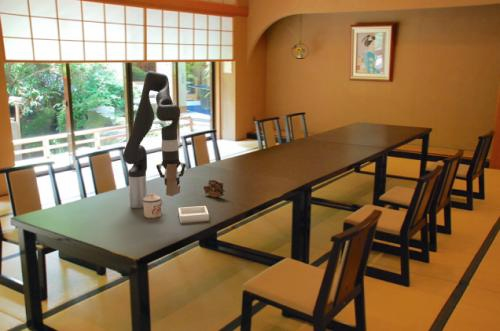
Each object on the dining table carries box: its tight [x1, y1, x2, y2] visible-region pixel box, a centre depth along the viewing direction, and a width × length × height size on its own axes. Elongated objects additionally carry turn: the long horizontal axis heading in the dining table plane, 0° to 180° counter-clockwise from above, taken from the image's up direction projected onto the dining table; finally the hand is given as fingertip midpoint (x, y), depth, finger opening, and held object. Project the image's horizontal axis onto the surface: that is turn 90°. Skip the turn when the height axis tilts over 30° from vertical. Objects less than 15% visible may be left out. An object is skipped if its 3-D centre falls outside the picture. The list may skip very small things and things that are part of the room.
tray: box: [177, 205, 210, 224], centre depth 248 cm, size 14×14×4 cm
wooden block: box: [165, 163, 181, 197], centre depth 228 cm, size 7×3×15 cm, turn 154°
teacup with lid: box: [143, 192, 163, 219], centre depth 253 cm, size 12×9×12 cm
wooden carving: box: [203, 179, 227, 198], centre depth 283 cm, size 16×5×10 cm, turn 53°
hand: (172, 185), depth 229 cm, fingers closed on wooden block, 4 cm apart
